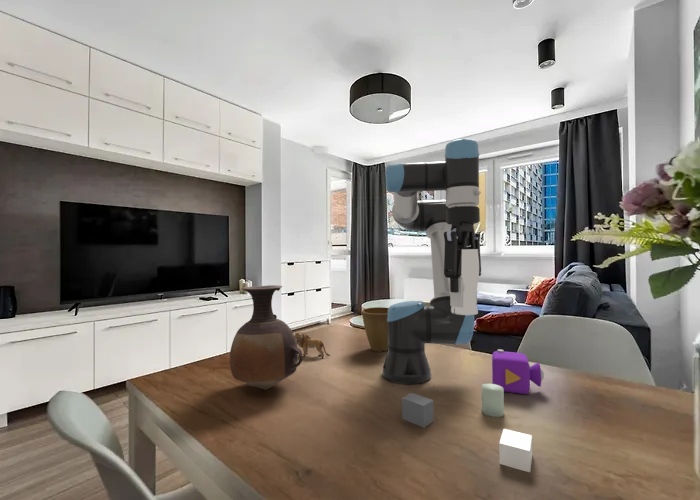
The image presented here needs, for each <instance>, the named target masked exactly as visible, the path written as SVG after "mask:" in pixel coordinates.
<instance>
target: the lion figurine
mask: <svg viewBox="0 0 700 500" xmlns="http://www.w3.org/2000/svg"><path fill="white" fill-rule="evenodd" d="M294 336H295V339H296V342H297V346H299V348H302V352H303V353H302V354H303V355H306V356H307V354H306V353H309V349H316V351H317V352H318V354H320V355H319V356H320V357H325V355H326V356H327V357H330V356H331V355H330V354H329V353H328V352H327V351H326V347H325V344H324V342H323V340H322V339H320V338H311V337H310V336H309V335H308V334H306V333H305V332H302V331H297V332H295V333H294Z"/></svg>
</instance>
